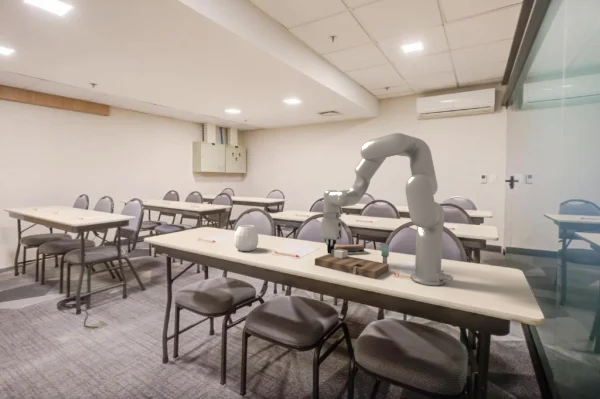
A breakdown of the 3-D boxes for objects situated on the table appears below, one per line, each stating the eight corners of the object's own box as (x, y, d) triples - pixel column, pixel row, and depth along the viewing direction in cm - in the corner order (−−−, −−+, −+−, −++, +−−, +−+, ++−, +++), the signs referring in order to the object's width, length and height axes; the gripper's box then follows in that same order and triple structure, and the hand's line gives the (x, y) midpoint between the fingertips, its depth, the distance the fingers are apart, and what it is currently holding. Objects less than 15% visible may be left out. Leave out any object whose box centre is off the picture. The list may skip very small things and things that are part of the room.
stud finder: (347, 256, 145) (347, 249, 145) (342, 258, 141) (342, 251, 141) (336, 254, 149) (337, 247, 148) (331, 256, 145) (331, 249, 144)
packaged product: (336, 247, 158) (330, 243, 168) (336, 256, 158) (330, 252, 168) (368, 246, 162) (360, 242, 171) (368, 255, 162) (360, 250, 172)
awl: (389, 266, 140) (390, 245, 139) (386, 268, 137) (387, 246, 136) (382, 265, 142) (383, 244, 141) (380, 266, 139) (380, 245, 138)
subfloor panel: (388, 270, 133) (389, 263, 133) (374, 279, 122) (374, 271, 122) (331, 258, 152) (331, 252, 152) (314, 265, 141) (314, 258, 141)
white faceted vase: (230, 249, 171) (230, 225, 170) (251, 246, 179) (250, 223, 178) (241, 253, 161) (241, 228, 160) (262, 250, 169) (262, 226, 168)
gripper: (348, 216, 145) (347, 254, 146) (323, 213, 154) (322, 249, 155) (340, 217, 139) (339, 257, 140) (314, 215, 148) (313, 252, 150)
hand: (330, 253), depth 148 cm, fingers closed
